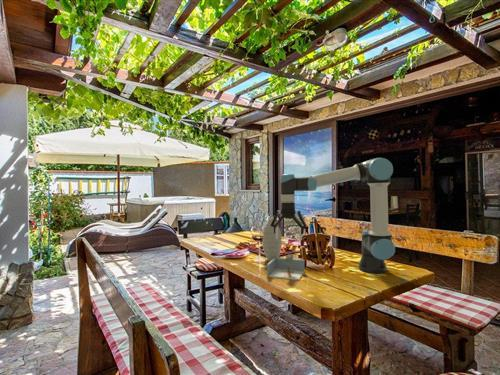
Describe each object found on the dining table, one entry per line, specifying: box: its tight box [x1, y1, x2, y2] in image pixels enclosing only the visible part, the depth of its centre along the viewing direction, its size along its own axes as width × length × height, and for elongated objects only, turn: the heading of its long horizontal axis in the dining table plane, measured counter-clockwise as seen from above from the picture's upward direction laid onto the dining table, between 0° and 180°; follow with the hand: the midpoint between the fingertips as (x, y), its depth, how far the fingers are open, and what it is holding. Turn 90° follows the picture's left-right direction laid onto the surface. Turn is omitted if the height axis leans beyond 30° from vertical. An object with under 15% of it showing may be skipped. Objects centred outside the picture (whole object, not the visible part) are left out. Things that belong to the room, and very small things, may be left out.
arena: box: [266, 257, 305, 281], centre depth 169 cm, size 18×15×7 cm
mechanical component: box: [285, 253, 294, 274], centre depth 167 cm, size 3×10×10 cm, turn 160°
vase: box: [262, 217, 283, 262], centre depth 198 cm, size 13×13×28 cm
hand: (288, 239), depth 166 cm, fingers open, 13 cm apart
